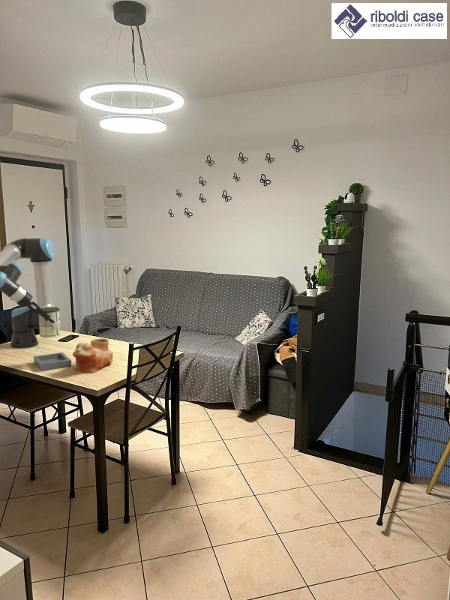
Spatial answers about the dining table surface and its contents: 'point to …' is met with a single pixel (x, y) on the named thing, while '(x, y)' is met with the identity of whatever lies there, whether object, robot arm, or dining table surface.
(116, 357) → the dining table surface
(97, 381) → the dining table surface
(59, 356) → the tray
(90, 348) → the ceramic vessel
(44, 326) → the coffee can
